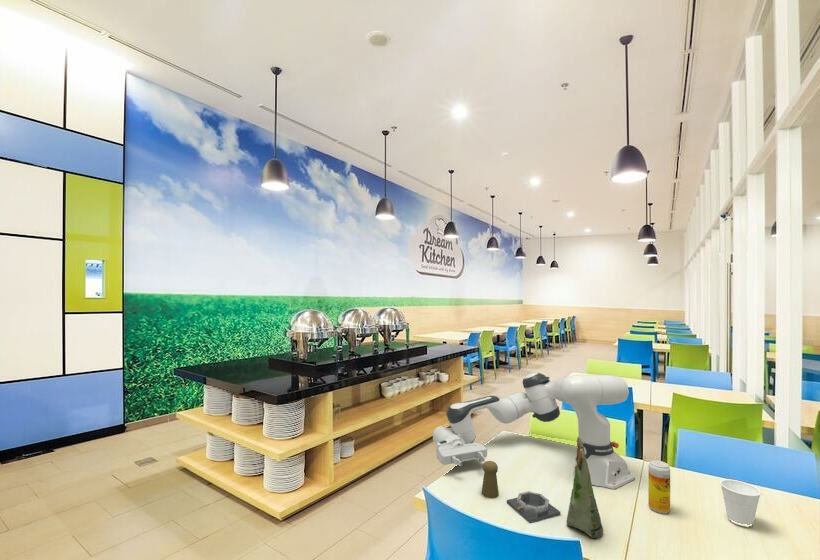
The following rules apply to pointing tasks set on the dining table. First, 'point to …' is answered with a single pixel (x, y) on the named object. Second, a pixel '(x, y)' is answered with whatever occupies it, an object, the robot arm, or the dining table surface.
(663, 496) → the pill bottle
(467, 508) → the dining table surface
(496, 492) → the cork
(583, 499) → the pouch
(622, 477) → the robot arm
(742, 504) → the cup
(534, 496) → the hub socket
